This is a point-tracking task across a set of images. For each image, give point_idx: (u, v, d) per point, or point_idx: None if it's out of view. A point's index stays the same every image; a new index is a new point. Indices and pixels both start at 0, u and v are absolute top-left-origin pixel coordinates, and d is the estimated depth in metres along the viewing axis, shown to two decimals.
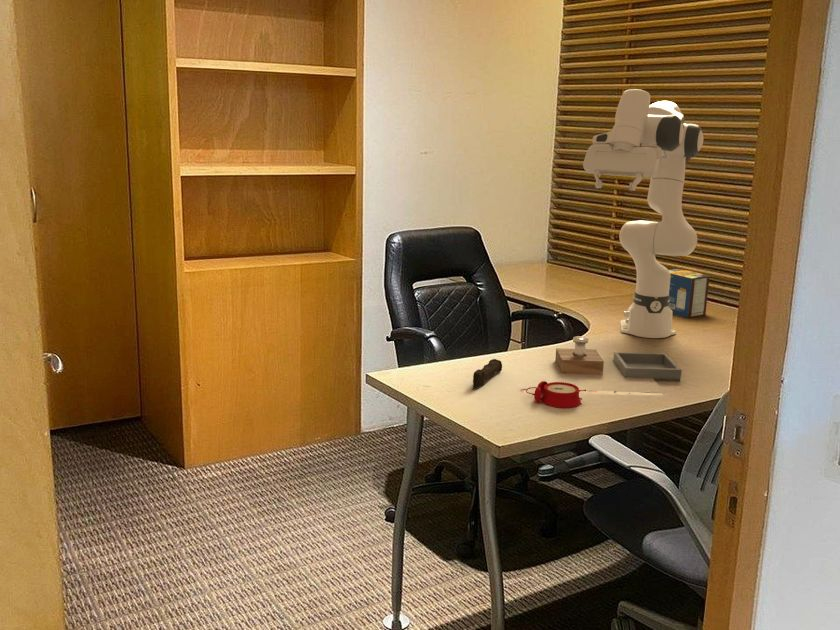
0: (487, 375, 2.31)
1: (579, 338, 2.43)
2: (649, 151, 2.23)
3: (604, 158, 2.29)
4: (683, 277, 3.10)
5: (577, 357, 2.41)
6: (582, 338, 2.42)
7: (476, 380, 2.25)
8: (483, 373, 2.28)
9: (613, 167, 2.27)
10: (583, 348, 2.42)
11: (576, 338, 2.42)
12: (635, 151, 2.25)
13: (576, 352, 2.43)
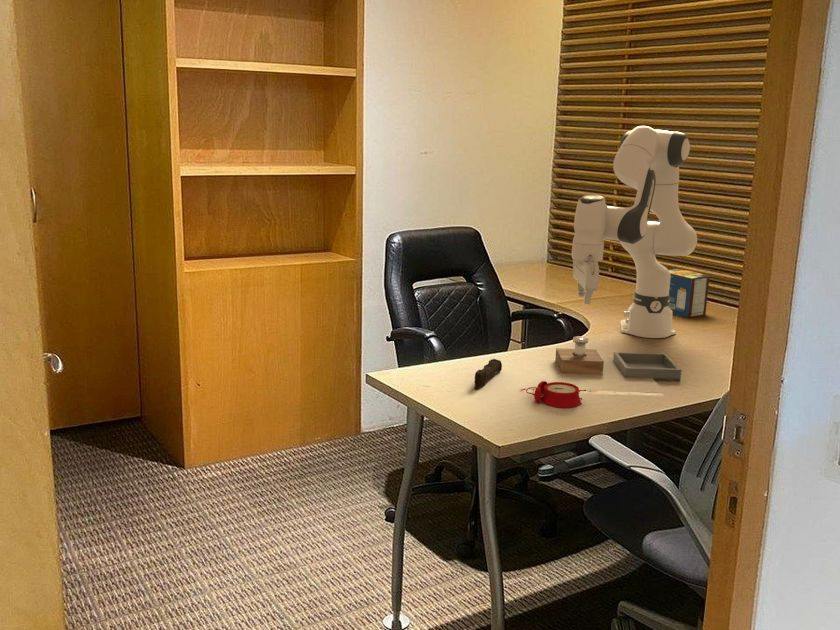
0: (488, 375, 2.31)
1: (579, 338, 2.43)
2: (585, 268, 2.30)
3: (577, 269, 2.42)
4: (683, 277, 3.10)
5: (577, 357, 2.41)
6: (582, 338, 2.42)
7: (478, 380, 2.25)
8: (484, 373, 2.28)
9: (578, 280, 2.39)
10: (583, 348, 2.42)
11: (576, 338, 2.42)
12: (582, 266, 2.33)
13: (576, 352, 2.43)
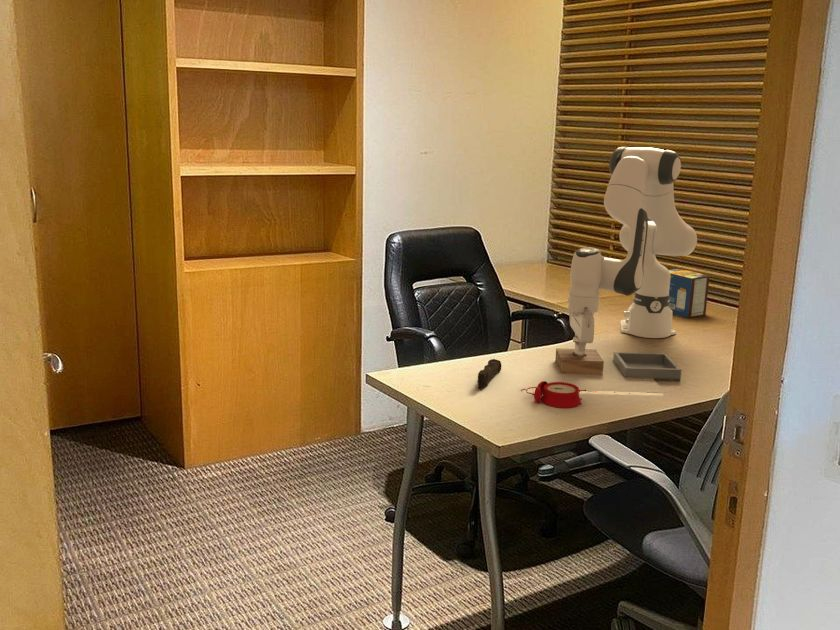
0: (490, 376, 2.31)
1: None
2: (580, 320, 2.33)
3: (573, 319, 2.46)
4: (683, 277, 3.10)
5: (577, 357, 2.41)
6: None
7: (481, 381, 2.25)
8: (487, 374, 2.28)
9: (574, 330, 2.43)
10: None
11: (576, 338, 2.42)
12: (578, 318, 2.37)
13: (576, 352, 2.43)
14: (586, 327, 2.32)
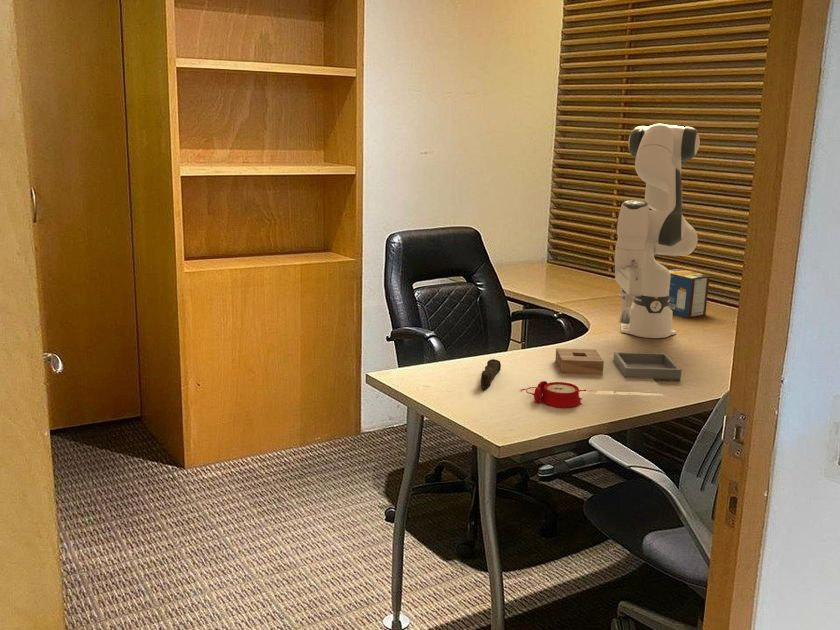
0: (492, 376, 2.31)
1: (625, 292, 2.40)
2: (628, 273, 2.30)
3: (619, 274, 2.42)
4: (683, 277, 3.10)
5: (577, 357, 2.41)
6: None
7: (485, 381, 2.24)
8: (490, 374, 2.27)
9: (621, 285, 2.40)
10: None
11: (622, 292, 2.39)
12: (626, 271, 2.34)
13: (622, 307, 2.39)
14: (634, 280, 2.28)
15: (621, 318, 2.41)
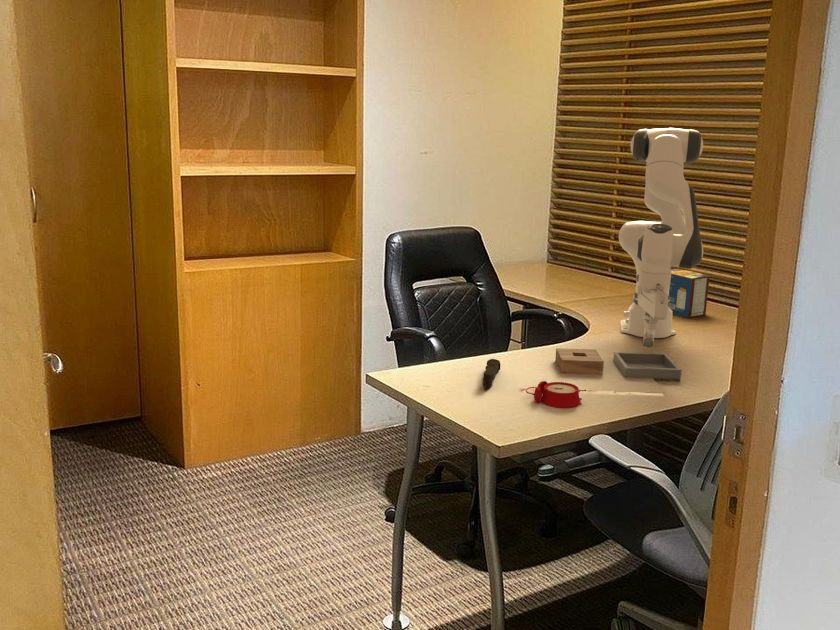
0: (493, 376, 2.31)
1: (649, 315, 2.41)
2: (654, 296, 2.31)
3: (642, 297, 2.43)
4: (683, 277, 3.10)
5: (577, 357, 2.41)
6: None
7: (488, 381, 2.24)
8: (492, 374, 2.27)
9: (644, 308, 2.41)
10: None
11: (646, 316, 2.40)
12: (650, 294, 2.35)
13: (646, 330, 2.40)
14: (660, 303, 2.30)
15: (645, 341, 2.41)
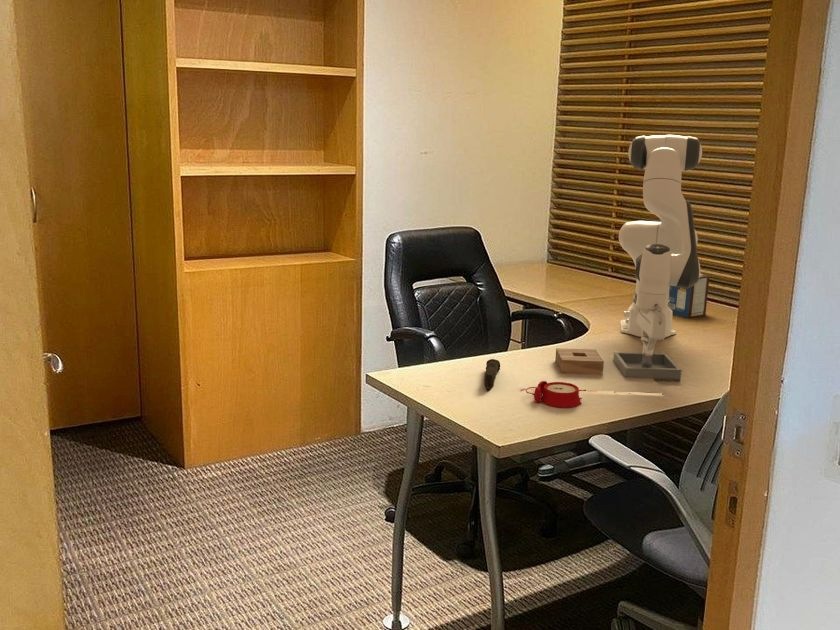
0: None
1: (647, 337, 2.42)
2: (652, 317, 2.33)
3: (641, 316, 2.45)
4: None
5: (577, 357, 2.41)
6: None
7: (490, 382, 2.24)
8: (493, 374, 2.27)
9: (642, 327, 2.43)
10: None
11: (644, 337, 2.42)
12: (648, 315, 2.37)
13: (644, 351, 2.42)
14: (658, 324, 2.31)
15: (643, 362, 2.43)
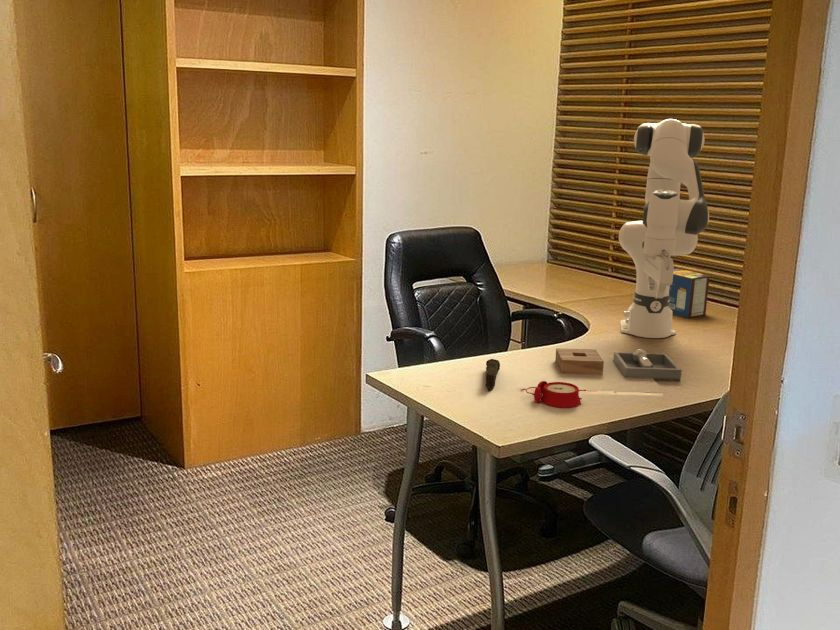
0: None
1: None
2: (659, 262, 2.31)
3: (648, 263, 2.43)
4: (683, 277, 3.10)
5: (577, 357, 2.41)
6: None
7: (491, 382, 2.24)
8: (495, 374, 2.27)
9: (650, 274, 2.41)
10: (644, 355, 2.47)
11: None
12: (656, 261, 2.35)
13: (639, 358, 2.46)
14: (665, 269, 2.29)
15: (642, 363, 2.43)
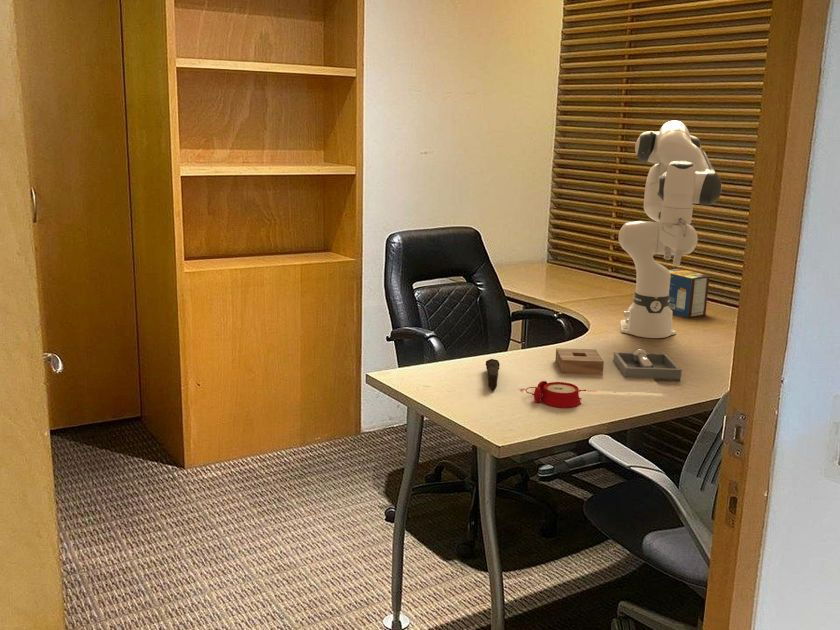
0: None
1: None
2: (676, 230, 2.39)
3: (664, 233, 2.51)
4: (683, 277, 3.10)
5: (577, 357, 2.41)
6: None
7: (494, 382, 2.24)
8: (497, 374, 2.27)
9: (666, 243, 2.48)
10: (645, 355, 2.47)
11: None
12: (672, 229, 2.42)
13: (639, 358, 2.46)
14: (682, 236, 2.37)
15: (642, 363, 2.43)
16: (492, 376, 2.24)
